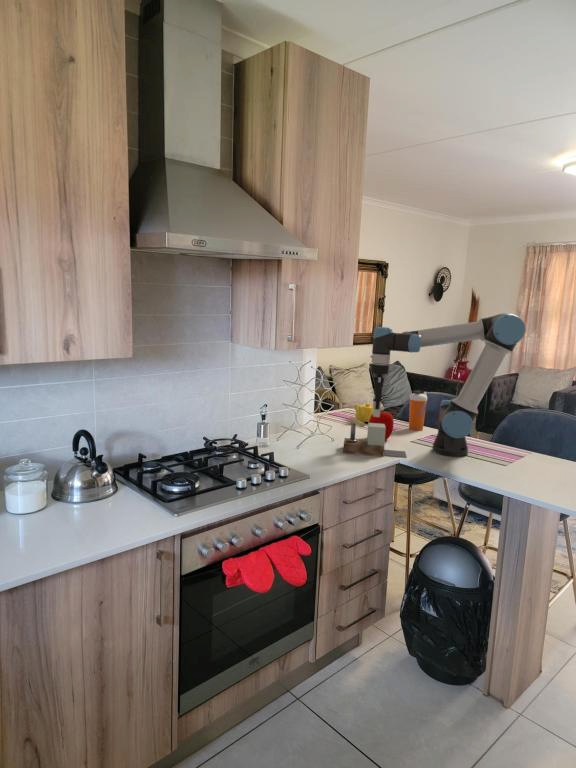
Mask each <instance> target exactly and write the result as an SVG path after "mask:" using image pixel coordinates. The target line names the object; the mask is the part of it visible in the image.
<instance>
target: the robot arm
mask: <svg viewBox="0 0 576 768" xmlns="http://www.w3.org/2000/svg"><path fill="white" fill-rule="evenodd" d="M525 334H526V325H525V322H524V320H523V318H521V317H519V316H518V315H516V314H513V313H510V312H509V313H498V314H495V315H493V316H488V317H483V318H479V319H478V321H473V322H466V323H460V324H453V325H452V324H451V325H445V326H439V327H432V328H431V327H430V328H426V329H418V330H413V331H403V332H401V333H399V332H393V328H392V327H387V326H386V327H385V326H377V327H374V330H373V337H372V351H371V352H372V353H371V355H370V357H369V358H371V364H370V373H371V374H375V376H374V377H373V385H374V388H373V398H372V405H373V410H374V411H373V417H380V408H381V406H382V405H381V404H382V393H383V386H384V379H385V378H384V377H383V375H388V374H389V372H390V371H389V370H390V365H389V364H390V363H391V351H393V352H402V353H403V352H404V353H405V352H406V353H419V352H420V351H421V348H424V347H425V348H426V347H433V346H440V345H441V346H442V345H447V344H455V343H463V342H471V341H478V340H480V341H482V342H484V343H485V345H484V347H483V349H482V351H481V352H480V354H479V357H478V358H477V360H476V362H475V364H474V366H473V368H472V369H471V371H470V373H469V375H468V376H467V379H466V381H465V382H464V384H463V386H462V388H461V390H460V392H459V394H458V395H457V397H456V398H452V399H450V400H448V399H442V400H441V401H440V404H439V416H438V428H437V434H436V437H435V438H434V441H433V443H432V448H431V450H432V451H433V452H434V453H436V454H439V455H443V456H449V457H464V456H467V455H469V454H468V453H469V447H468V442H467V438H466V437H467V436H469V435H470V434H471V431H472V430H473V428H474V427H473V426H474V421H475V420H476V418H477V416H478V414H479V410H478V406H479V405H480V402H481V400H482V399H483V397H484V395H485V393H486V392H487V390H488V388H489V387H490V385H491V382H492V381H493V380H494V377H495V375H496V373H497V371H498V370H499V368H500V366H501V364H502V362H503V361H504V359H505V357H506V355H509V354H511V353H512V352H513V351H514V349H515V347H516V345H517V344H518V343H519V342H520V341H521V340H522V339H523V338H524V336H525Z"/></svg>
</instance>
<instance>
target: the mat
mask: <svg viewBox="0 0 576 768" xmlns="http://www.w3.org/2000/svg"><path fill="white" fill-rule="evenodd" d="M384 456H385V457H392V458H403V459H407V457H408V456H407V453H406V451H405V450H395V449H394V450H392V449H384Z"/></svg>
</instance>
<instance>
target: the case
mask: <svg viewBox="0 0 576 768" xmlns="http://www.w3.org/2000/svg"><path fill="white" fill-rule="evenodd" d="M348 438H349V437H344V439H343V454H350V455H351V454H353V455H362V456H363V455H365V456H374V457H375V456H376V457H384V456H385V453H384V450H385V445H384V446H376V445H368V444H367V439H363V438H362V439H361V438H356V439H357V440H358V441H357V442H349V441H347V439H348Z"/></svg>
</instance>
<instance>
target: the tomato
mask: <svg viewBox="0 0 576 768" xmlns="http://www.w3.org/2000/svg"><path fill="white" fill-rule="evenodd" d="M369 423H378V424H385V427H386V430H385V441H386V440H388V439H389V438H390V437H391V436H392V433H393V430H394V417H393V415H392V413H391V412H389V411H387V410H386V411H385V409H383V410H381V411H380V417H373V414H372V416H371V418H370V421H369Z"/></svg>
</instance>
